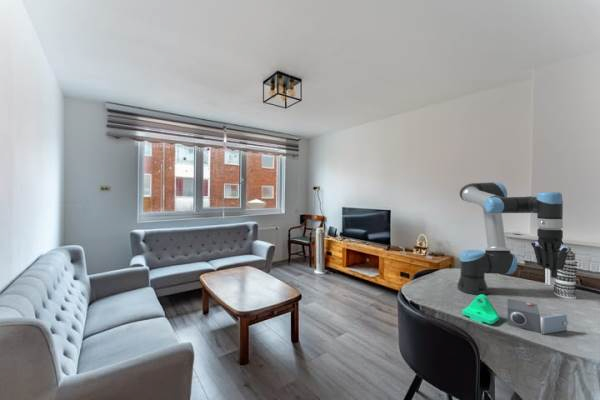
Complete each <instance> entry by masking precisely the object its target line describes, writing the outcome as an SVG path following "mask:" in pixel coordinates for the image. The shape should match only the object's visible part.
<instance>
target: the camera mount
mask: <svg viewBox="0 0 600 400" xmlns="http://www.w3.org/2000/svg"><path fill="white" fill-rule="evenodd" d="M461 311H462V313H461V314H462V315H464V316H467V317H469V319H470V320H473V321H475V322H478V323H481V324H483V323H486V324H489V325H494V324H495V323H496V322H497V321H499V320H500V315H499V314H498V311H497V310H496V309H495V307H494V306H493V304H492V302H491V301H490V299H489V298H488V297H487V296H486V295H482V294H481V295H475V297H474V299H473V301H471V303H470V304H469V305H468V306H467V307H465V308H463V309H461Z"/></svg>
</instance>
